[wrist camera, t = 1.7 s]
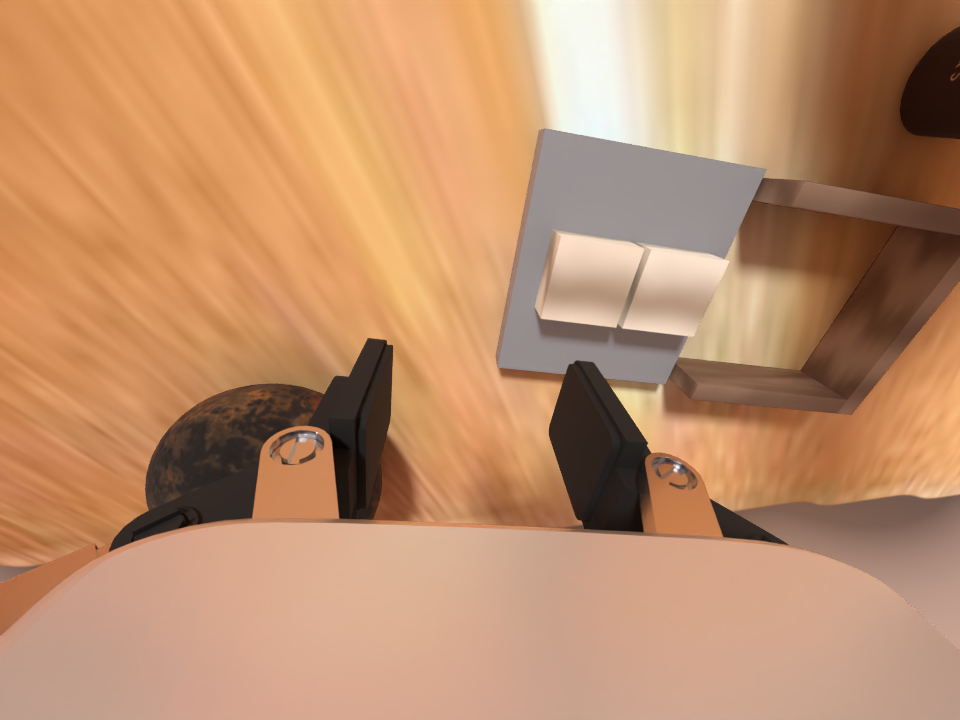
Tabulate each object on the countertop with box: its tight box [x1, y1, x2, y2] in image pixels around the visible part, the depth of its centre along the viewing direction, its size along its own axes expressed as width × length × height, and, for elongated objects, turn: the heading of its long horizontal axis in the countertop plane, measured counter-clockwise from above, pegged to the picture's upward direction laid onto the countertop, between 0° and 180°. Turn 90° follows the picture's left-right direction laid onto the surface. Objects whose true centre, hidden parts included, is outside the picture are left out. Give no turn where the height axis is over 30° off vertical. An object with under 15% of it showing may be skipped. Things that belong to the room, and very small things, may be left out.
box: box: [669, 178, 960, 415], centre depth 30 cm, size 17×16×5 cm
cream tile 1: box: [535, 230, 644, 328], centre depth 27 cm, size 6×6×2 cm
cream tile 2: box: [618, 242, 730, 337], centre depth 28 cm, size 6×6×2 cm
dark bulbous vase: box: [145, 384, 382, 520], centre depth 24 cm, size 18×18×28 cm
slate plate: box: [496, 129, 767, 384], centre depth 29 cm, size 18×16×2 cm
